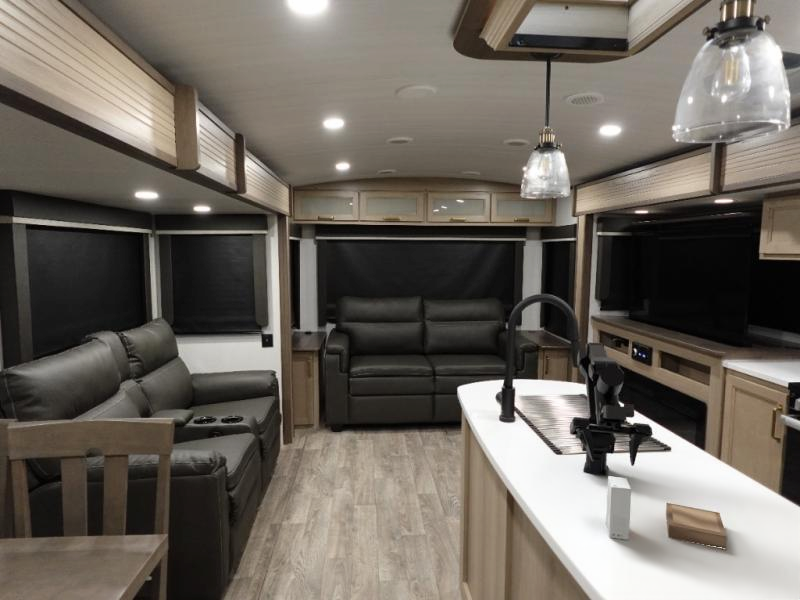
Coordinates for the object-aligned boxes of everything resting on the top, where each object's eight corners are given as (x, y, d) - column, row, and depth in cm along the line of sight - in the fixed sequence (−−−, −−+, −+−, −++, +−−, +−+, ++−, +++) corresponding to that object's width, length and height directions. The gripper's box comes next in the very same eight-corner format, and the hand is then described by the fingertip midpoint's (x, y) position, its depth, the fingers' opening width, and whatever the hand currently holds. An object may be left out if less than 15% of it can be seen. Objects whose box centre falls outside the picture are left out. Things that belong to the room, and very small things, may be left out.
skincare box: (629, 540, 110) (631, 489, 109) (609, 537, 111) (610, 487, 110) (625, 526, 116) (627, 477, 115) (605, 523, 117) (607, 475, 116)
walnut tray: (665, 514, 121) (666, 502, 121) (718, 524, 116) (719, 512, 116) (668, 537, 111) (669, 524, 111) (726, 549, 106) (726, 536, 106)
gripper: (575, 386, 124) (579, 447, 115) (654, 393, 121) (664, 456, 112) (568, 405, 133) (570, 462, 124) (641, 412, 130) (649, 471, 121)
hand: (612, 462), depth 120 cm, fingers open, 9 cm apart
